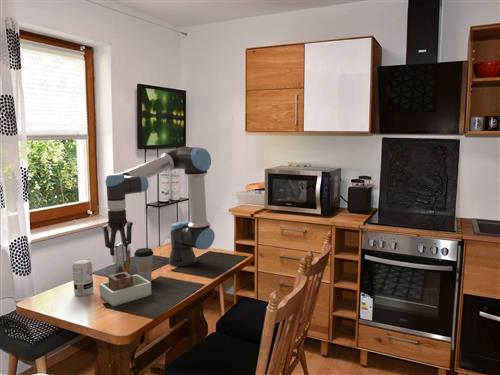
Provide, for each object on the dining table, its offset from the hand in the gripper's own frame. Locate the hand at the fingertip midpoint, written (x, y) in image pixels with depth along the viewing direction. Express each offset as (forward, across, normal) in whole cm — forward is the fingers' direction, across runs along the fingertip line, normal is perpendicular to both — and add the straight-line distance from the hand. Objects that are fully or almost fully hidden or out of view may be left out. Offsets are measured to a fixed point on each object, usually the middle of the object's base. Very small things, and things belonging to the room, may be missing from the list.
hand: (119, 261), depth 183 cm
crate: (+17, -2, 0) cm, 17 cm away
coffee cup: (+17, -18, -13) cm, 28 cm away
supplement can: (+17, +11, -16) cm, 26 cm away
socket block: (+17, 0, 0) cm, 17 cm away
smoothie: (+17, -13, -27) cm, 34 cm away
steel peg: (+5, 0, 0) cm, 5 cm away
